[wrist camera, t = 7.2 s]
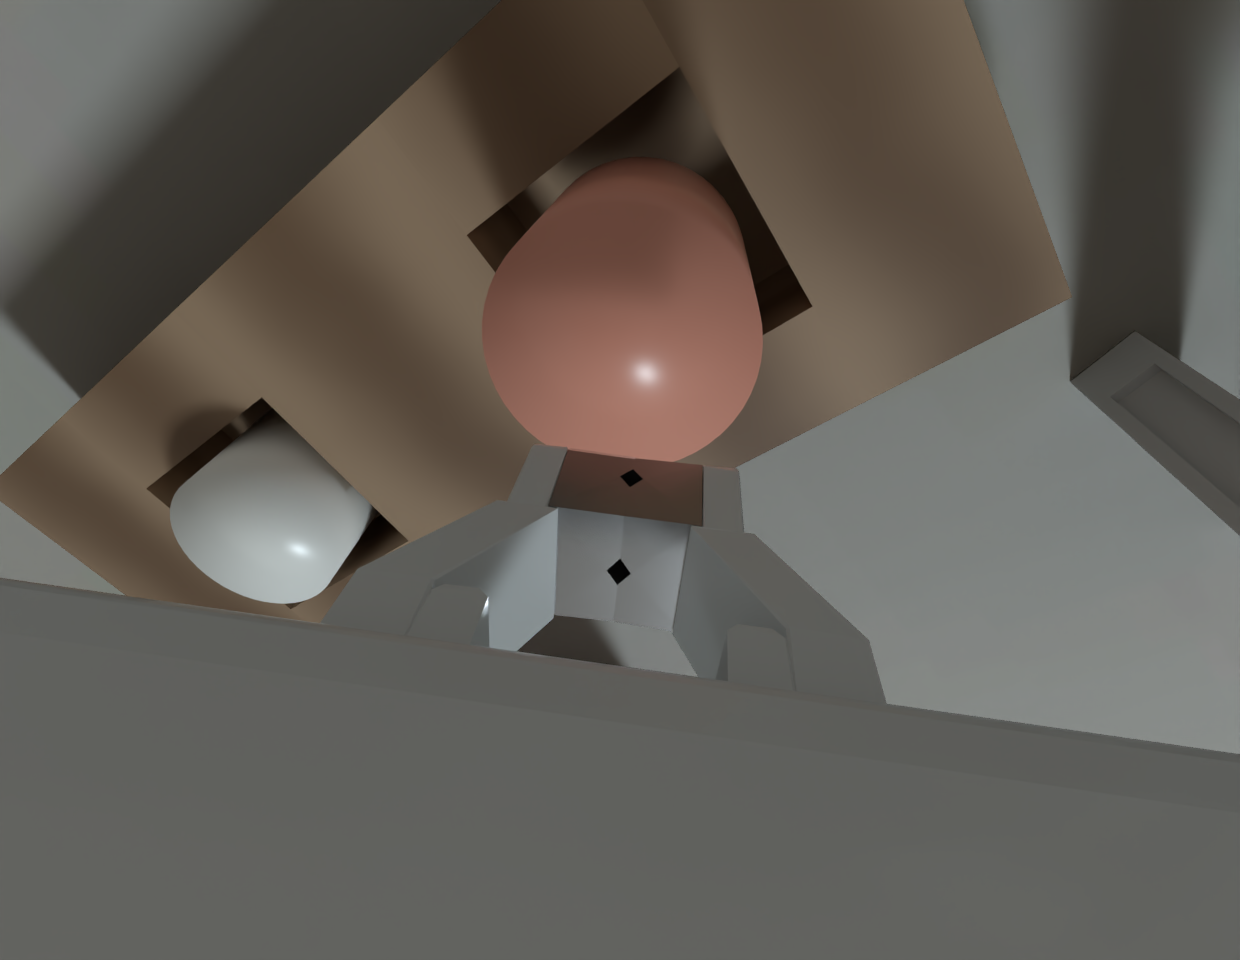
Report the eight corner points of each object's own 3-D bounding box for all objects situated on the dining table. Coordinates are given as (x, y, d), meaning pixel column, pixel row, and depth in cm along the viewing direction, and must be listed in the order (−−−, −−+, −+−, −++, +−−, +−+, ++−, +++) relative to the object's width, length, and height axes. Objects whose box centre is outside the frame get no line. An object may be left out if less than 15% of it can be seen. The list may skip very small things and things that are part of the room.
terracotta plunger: (615, 400, 18) (590, 507, 14) (495, 241, 16) (424, 310, 12) (783, 300, 16) (813, 389, 12) (671, 106, 14) (660, 131, 10)
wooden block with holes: (327, 614, 31) (269, 703, 27) (98, 418, 26) (-15, 489, 22) (992, 243, 20) (1072, 297, 15) (803, -222, 15) (845, -325, 11)
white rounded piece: (335, 532, 26) (266, 624, 22) (233, 437, 24) (137, 518, 20) (425, 476, 24) (368, 565, 20) (322, 368, 22) (236, 442, 18)
